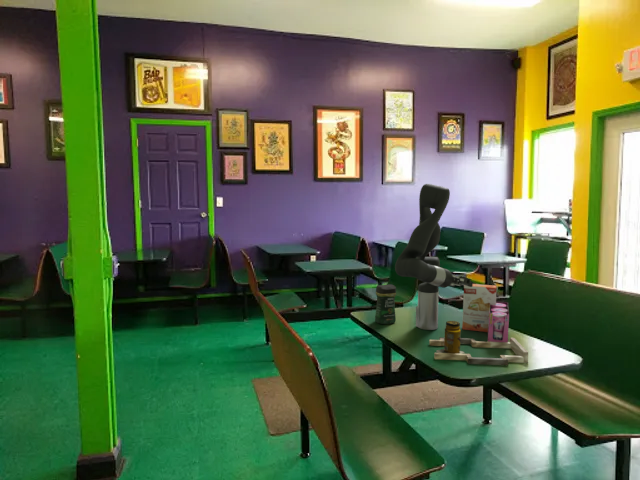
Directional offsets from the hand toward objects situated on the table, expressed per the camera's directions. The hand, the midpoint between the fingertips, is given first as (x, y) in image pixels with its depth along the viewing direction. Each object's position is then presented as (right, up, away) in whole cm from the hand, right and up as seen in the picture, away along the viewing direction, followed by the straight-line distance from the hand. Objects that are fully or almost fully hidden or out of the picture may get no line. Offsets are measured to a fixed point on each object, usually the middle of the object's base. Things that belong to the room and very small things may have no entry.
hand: (463, 284), depth 185 cm
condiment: (-8, -26, -9) cm, 29 cm away
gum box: (+18, -24, +8) cm, 31 cm away
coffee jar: (-27, -22, +33) cm, 48 cm away
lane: (+2, -26, -10) cm, 28 cm away
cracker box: (+14, -23, +20) cm, 34 cm away
